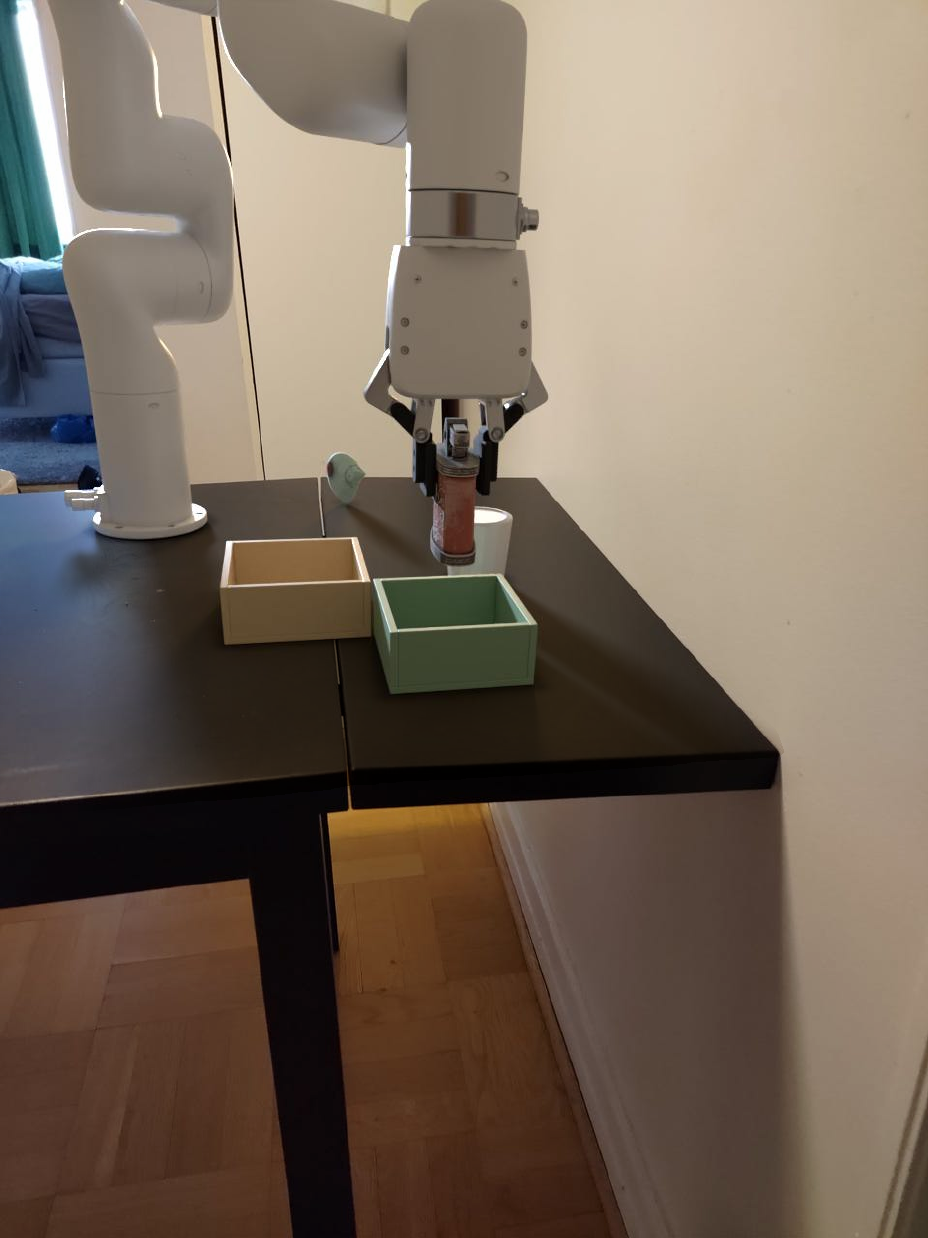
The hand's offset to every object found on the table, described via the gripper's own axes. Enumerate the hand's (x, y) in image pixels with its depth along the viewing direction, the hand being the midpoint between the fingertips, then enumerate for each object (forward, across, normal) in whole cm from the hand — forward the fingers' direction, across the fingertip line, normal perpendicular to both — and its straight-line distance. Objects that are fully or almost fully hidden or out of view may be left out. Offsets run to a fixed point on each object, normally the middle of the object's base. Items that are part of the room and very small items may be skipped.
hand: (454, 489), depth 64 cm
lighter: (+5, 0, 0) cm, 5 cm away
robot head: (+14, +5, -47) cm, 49 cm away
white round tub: (+14, -6, -17) cm, 23 cm away
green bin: (+14, 0, 0) cm, 14 cm away
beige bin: (+14, +12, -11) cm, 22 cm away
